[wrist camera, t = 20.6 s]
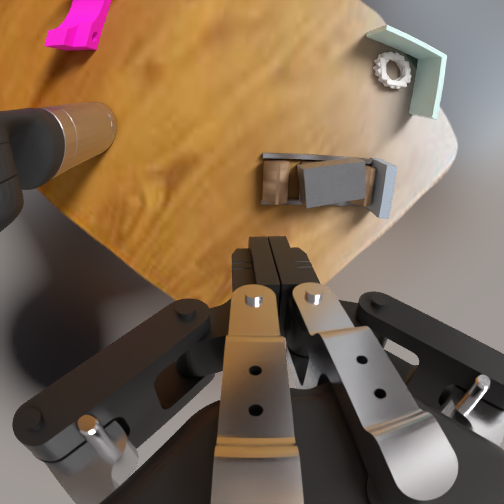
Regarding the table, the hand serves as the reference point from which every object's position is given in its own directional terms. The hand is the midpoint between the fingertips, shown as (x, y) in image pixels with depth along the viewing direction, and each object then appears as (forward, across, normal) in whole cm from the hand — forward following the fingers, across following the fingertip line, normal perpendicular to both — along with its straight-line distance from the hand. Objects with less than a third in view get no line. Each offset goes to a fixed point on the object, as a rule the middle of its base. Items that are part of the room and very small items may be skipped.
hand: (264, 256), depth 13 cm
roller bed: (+37, -13, +6) cm, 40 cm away
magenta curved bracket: (+37, +24, -26) cm, 52 cm away
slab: (+33, -14, +5) cm, 36 cm away
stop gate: (+37, -24, +6) cm, 45 cm away
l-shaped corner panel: (+38, -26, -14) cm, 48 cm away
